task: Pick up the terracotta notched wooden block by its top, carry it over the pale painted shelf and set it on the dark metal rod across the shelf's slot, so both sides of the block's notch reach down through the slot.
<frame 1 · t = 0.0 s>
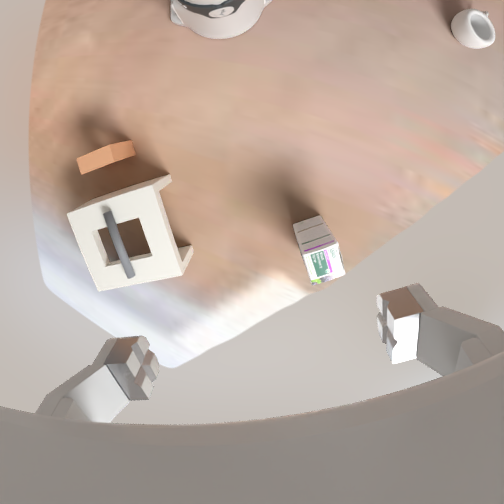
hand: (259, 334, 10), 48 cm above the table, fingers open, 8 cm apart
notched wooden block: (118, 153, 54), on the table
syrup box: (310, 231, 60), on the table
mug: (464, 28, 40), on the table
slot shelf: (140, 224, 60), on the table
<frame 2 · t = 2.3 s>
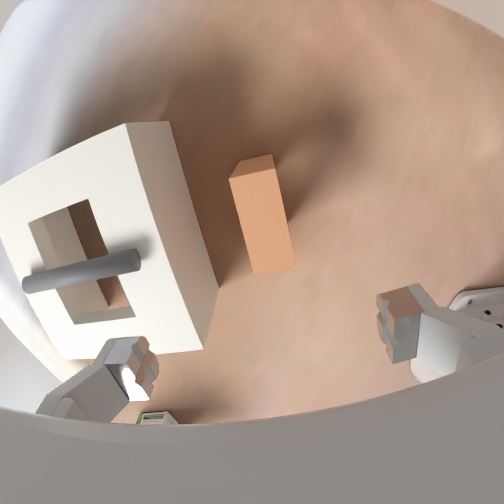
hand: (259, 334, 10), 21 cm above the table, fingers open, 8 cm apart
notched wooden block: (264, 192, 29), on the table
syrup box: (162, 421, 45), on the table
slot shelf: (125, 227, 31), on the table
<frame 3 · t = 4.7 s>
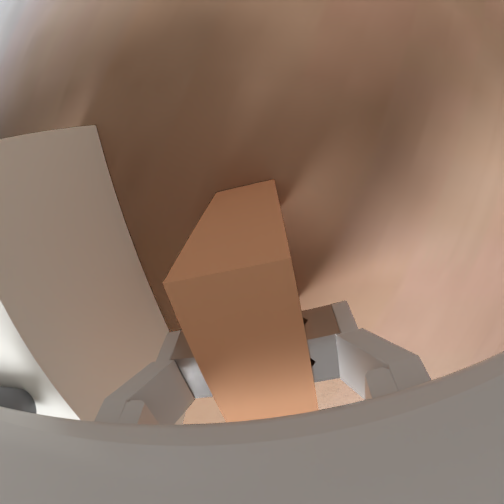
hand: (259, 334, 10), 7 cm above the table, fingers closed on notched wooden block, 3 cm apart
notched wooden block: (260, 248, 17), on the table, touching gripper
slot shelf: (51, 291, 19), on the table
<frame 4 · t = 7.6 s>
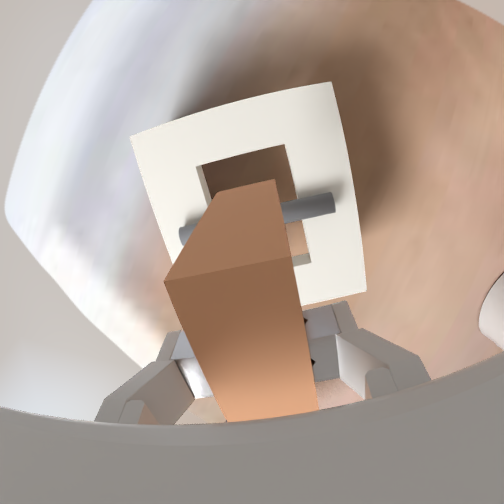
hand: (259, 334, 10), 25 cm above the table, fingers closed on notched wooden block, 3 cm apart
notched wooden block: (261, 247, 17), point 18 cm above the table, touching gripper
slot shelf: (259, 188, 34), on the table
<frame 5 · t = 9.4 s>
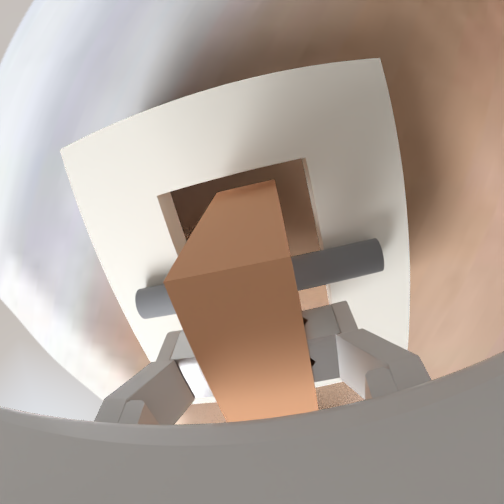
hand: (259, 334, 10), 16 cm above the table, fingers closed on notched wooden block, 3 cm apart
notched wooden block: (260, 248, 17), point 8 cm above the table, touching gripper
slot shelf: (258, 215, 25), on the table
when the fingers open (13 cm above the table, at t = 10.7 s): notched wooden block stays where it is, resting on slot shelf.
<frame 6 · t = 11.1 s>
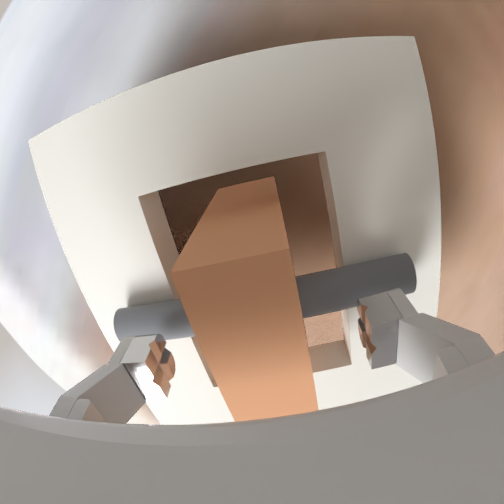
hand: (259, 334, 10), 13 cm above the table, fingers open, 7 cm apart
notched wooden block: (260, 243, 18), point 5 cm above the table, touching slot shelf
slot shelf: (260, 219, 22), on the table
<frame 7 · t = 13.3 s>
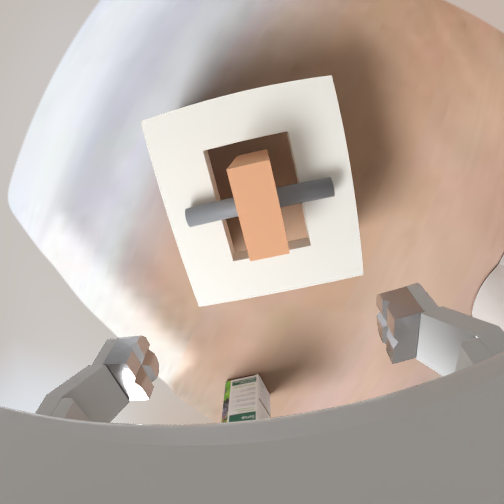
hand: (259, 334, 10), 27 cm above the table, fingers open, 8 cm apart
notched wooden block: (260, 186, 31), point 5 cm above the table, touching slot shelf
syrup box: (248, 387, 48), on the table
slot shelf: (259, 178, 35), on the table
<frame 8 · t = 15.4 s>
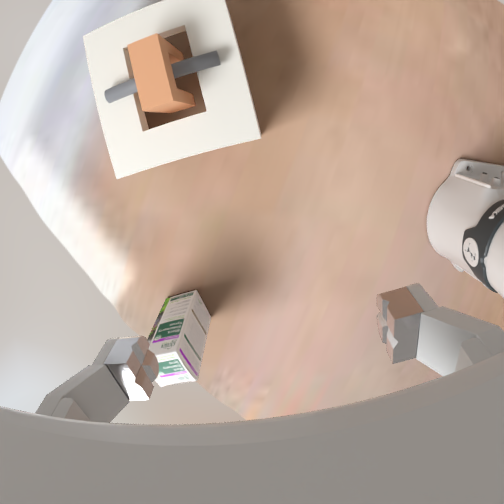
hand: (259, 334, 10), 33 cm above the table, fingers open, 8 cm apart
notched wooden block: (176, 82, 32), point 5 cm above the table, touching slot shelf
syrup box: (189, 307, 50), on the table
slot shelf: (185, 86, 36), on the table
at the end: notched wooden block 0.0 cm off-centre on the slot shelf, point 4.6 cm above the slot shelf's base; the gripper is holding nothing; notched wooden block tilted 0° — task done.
